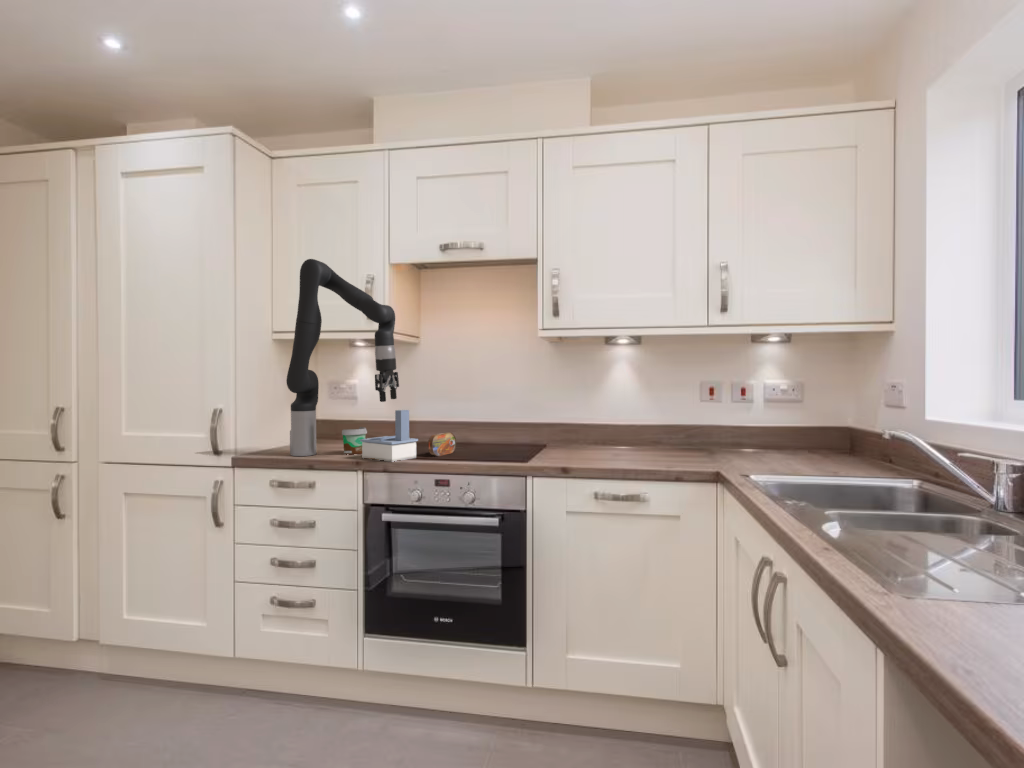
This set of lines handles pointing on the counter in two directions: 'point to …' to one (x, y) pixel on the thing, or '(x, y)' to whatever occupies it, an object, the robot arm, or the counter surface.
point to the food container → (353, 440)
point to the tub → (389, 451)
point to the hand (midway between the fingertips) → (388, 400)
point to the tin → (442, 444)
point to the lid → (396, 431)
